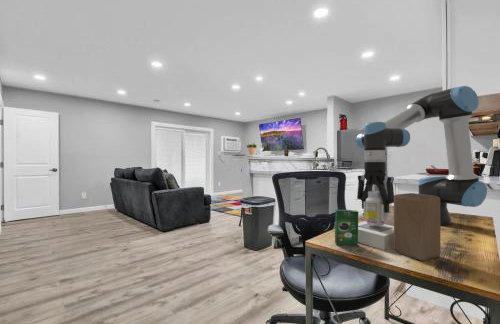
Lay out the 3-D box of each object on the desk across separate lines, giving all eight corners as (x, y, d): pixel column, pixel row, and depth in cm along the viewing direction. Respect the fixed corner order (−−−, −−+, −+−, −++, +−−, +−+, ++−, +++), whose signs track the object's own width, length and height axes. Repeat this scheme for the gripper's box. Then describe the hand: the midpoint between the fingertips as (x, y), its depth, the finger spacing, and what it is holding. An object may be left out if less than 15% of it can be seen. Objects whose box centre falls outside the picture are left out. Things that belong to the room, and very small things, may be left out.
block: (422, 262, 76) (422, 198, 76) (392, 251, 85) (392, 194, 85) (441, 257, 80) (441, 196, 80) (411, 247, 89) (411, 192, 89)
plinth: (367, 231, 108) (367, 219, 108) (406, 241, 95) (406, 228, 95) (344, 238, 100) (344, 225, 100) (384, 250, 86) (384, 235, 86)
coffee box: (356, 243, 93) (356, 209, 93) (358, 246, 90) (358, 210, 90) (334, 242, 94) (334, 208, 94) (336, 245, 91) (336, 210, 91)
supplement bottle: (380, 221, 100) (380, 190, 100) (387, 226, 94) (387, 192, 94) (363, 221, 101) (363, 190, 101) (369, 225, 94) (369, 192, 94)
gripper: (347, 161, 103) (347, 215, 103) (395, 161, 87) (395, 225, 87) (357, 161, 107) (358, 213, 108) (405, 161, 91) (406, 222, 91)
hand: (375, 218), depth 97 cm, fingers closed on supplement bottle, 7 cm apart
